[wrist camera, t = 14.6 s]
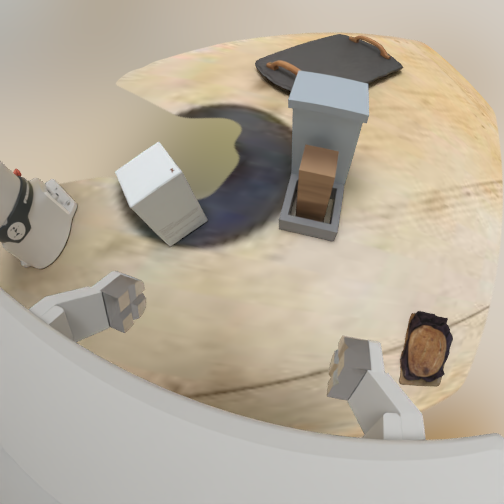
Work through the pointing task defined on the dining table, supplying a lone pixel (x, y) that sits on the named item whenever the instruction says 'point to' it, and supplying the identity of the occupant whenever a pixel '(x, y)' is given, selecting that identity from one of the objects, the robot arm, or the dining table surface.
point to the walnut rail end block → (315, 182)
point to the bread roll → (425, 350)
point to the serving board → (330, 60)
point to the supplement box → (161, 194)
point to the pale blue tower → (324, 139)
